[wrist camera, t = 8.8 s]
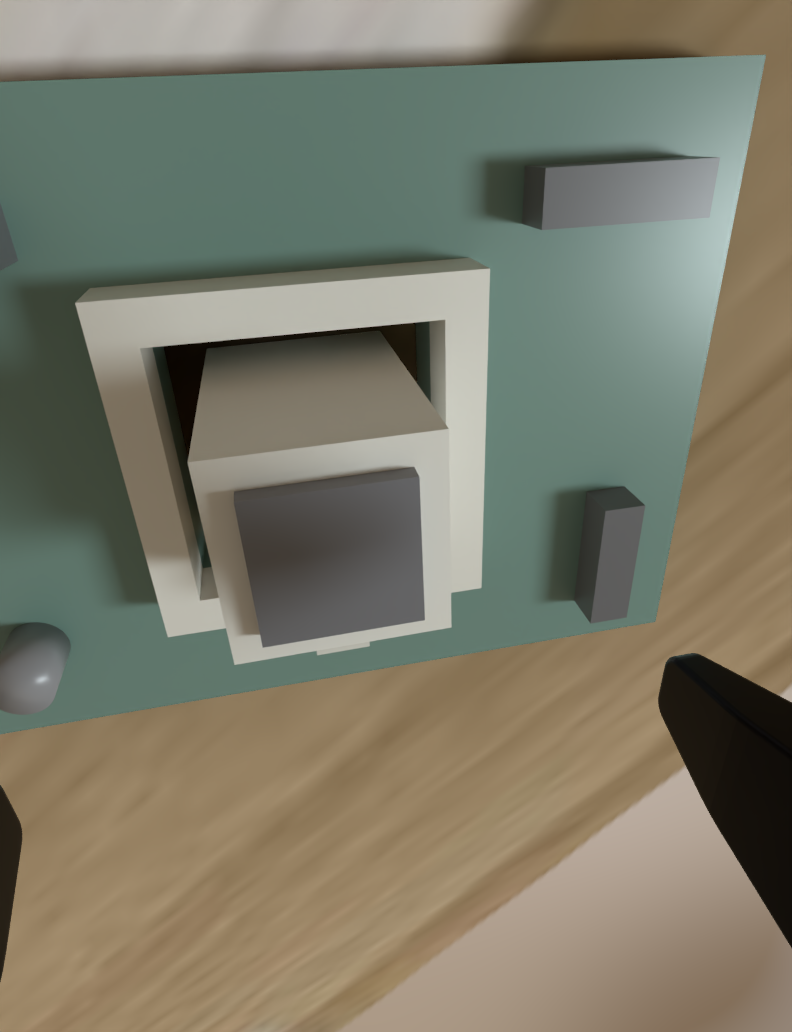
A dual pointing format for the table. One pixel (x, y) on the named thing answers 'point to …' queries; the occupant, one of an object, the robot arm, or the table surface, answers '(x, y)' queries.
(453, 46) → the table surface
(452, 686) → the table surface
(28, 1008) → the table surface
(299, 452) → the plug
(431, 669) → the table surface
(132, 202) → the board
